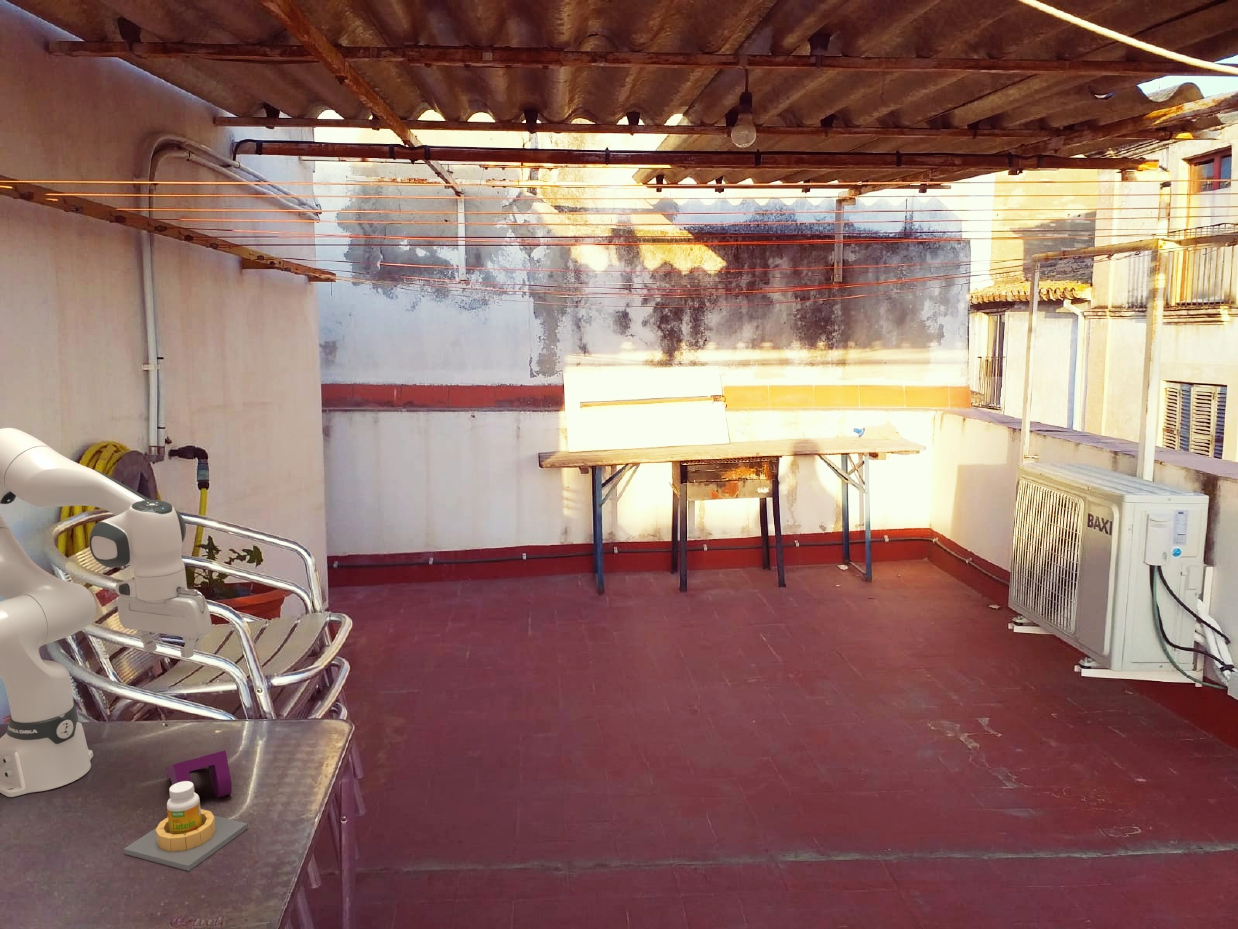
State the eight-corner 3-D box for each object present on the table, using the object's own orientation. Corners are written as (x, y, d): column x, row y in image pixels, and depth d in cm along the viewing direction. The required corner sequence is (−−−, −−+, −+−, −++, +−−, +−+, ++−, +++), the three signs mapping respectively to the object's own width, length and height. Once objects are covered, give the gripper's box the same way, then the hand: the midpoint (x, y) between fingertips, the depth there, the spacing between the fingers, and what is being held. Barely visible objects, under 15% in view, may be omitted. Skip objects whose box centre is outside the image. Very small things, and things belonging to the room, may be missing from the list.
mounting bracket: (170, 810, 196) (181, 809, 181) (162, 768, 197) (173, 764, 183) (218, 795, 201) (233, 793, 186) (211, 755, 203) (225, 750, 188)
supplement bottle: (170, 847, 170) (164, 797, 168) (170, 832, 175) (165, 783, 173) (203, 840, 172) (197, 790, 170) (203, 825, 177) (197, 776, 175)
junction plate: (124, 854, 170) (122, 836, 170) (186, 813, 183) (184, 797, 182) (188, 871, 165) (186, 852, 164) (247, 828, 177) (246, 811, 177)
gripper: (215, 585, 182) (223, 654, 185) (135, 575, 190) (143, 642, 192) (190, 595, 176) (197, 666, 179) (108, 585, 184) (116, 653, 186)
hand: (169, 654), depth 185 cm, fingers open, 8 cm apart
